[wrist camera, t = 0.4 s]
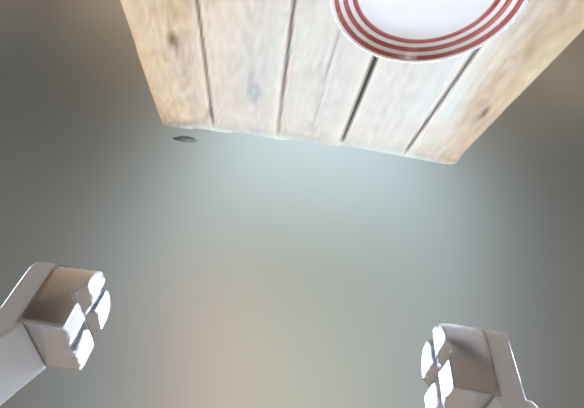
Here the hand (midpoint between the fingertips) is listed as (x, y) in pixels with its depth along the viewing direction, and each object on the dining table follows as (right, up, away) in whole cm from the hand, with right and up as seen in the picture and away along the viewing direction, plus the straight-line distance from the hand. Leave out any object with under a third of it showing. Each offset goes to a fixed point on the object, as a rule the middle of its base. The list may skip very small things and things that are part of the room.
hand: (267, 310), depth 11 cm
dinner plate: (+20, +35, +53) cm, 67 cm away
